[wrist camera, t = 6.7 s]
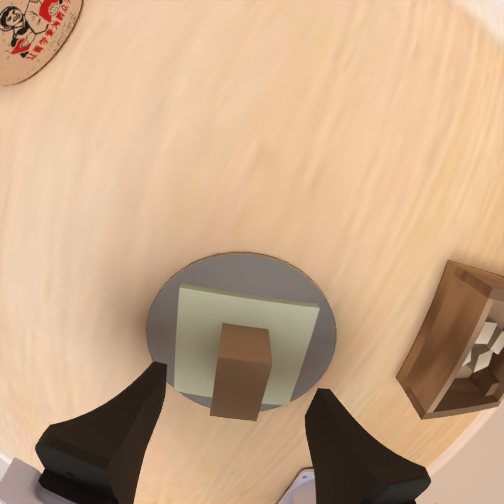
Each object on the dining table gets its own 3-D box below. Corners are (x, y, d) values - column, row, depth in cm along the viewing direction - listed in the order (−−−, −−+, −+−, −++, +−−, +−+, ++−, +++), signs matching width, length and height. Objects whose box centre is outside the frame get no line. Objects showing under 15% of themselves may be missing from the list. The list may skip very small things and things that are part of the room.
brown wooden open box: (472, 375, 19) (497, 406, 15) (396, 377, 18) (421, 419, 14) (517, 281, 16) (553, 303, 12) (448, 260, 16) (492, 287, 11)
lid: (287, 399, 18) (293, 440, 14) (175, 384, 17) (164, 425, 14) (317, 303, 16) (334, 339, 12) (181, 282, 15) (164, 316, 12)
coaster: (302, 414, 19) (303, 419, 18) (147, 388, 18) (144, 394, 18) (359, 273, 16) (362, 277, 15) (157, 233, 15) (154, 236, 15)
